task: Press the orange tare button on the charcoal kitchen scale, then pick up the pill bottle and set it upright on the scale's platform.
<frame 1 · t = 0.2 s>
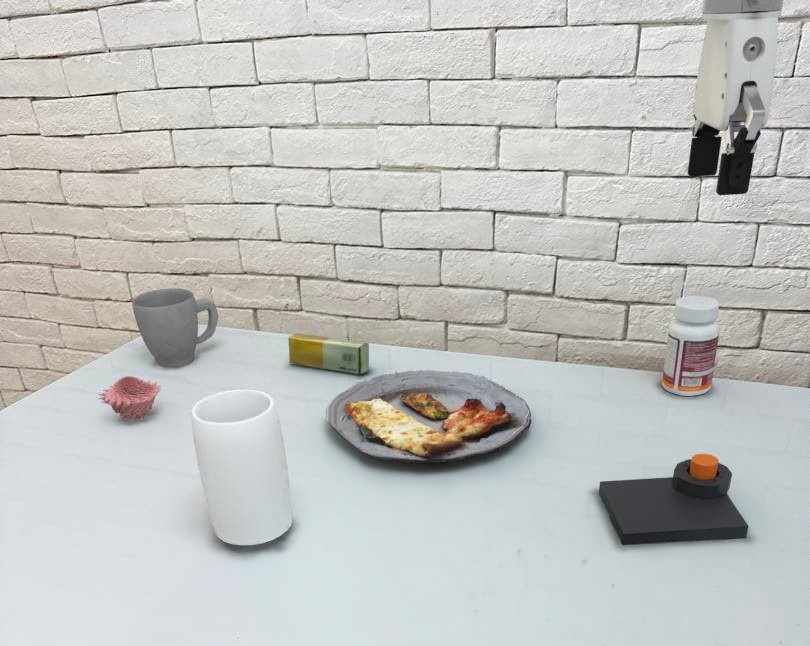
hand: (715, 184, 94), 26 cm above the table, tool pointing down, fingers open, 9 cm apart
mug: (186, 359, 129), on the table
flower: (136, 418, 112), on the table
pill bottle: (685, 389, 111), on the table
food plate: (428, 428, 105), on the table
scale: (668, 514, 86), on the table
medication box: (330, 369, 123), on the table
tare button: (703, 467, 87), point 4 cm above the table, slide at 0.1 cm
cup: (255, 535, 87), on the table
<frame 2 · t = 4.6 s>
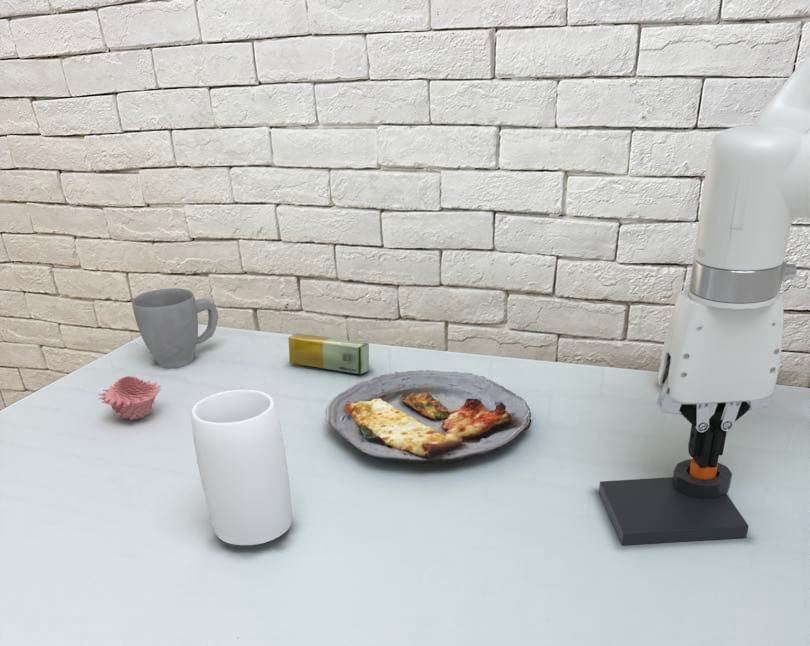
hand: (703, 461, 86), 4 cm above the table, tool pointing down, fingers closed
tare button: (703, 468, 87), point 3 cm above the table, slide at -0.1 cm, touching gripper
everything else where it was.
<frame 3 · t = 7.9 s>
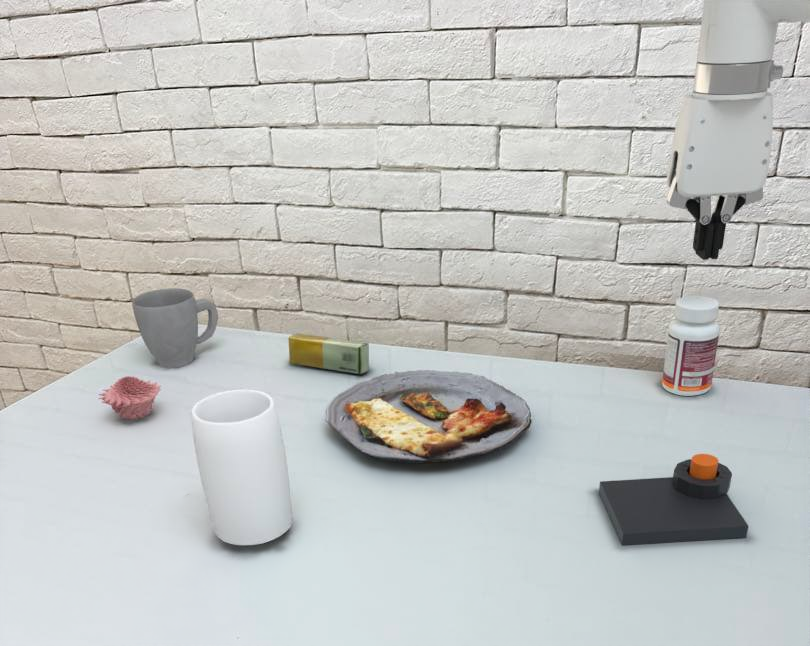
hand: (706, 256, 100), 17 cm above the table, tool pointing down, fingers closed
tare button: (703, 467, 87), point 3 cm above the table, slide at 0.1 cm
everything else where it was.
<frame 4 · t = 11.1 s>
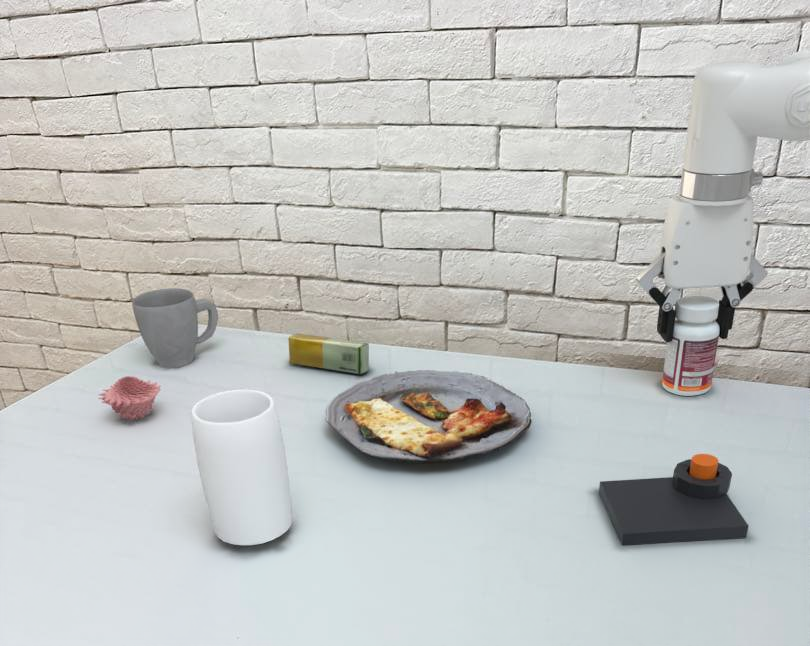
hand: (693, 335, 107), 7 cm above the table, tool pointing down, fingers closed on pill bottle, 6 cm apart
pill bottle: (685, 389, 111), on the table, touching gripper
everything else where it was.
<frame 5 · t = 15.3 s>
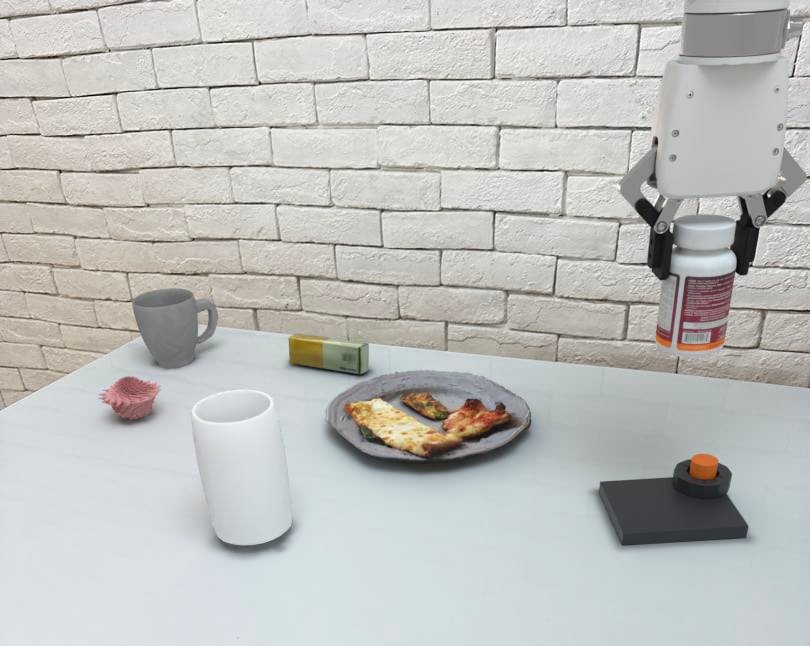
hand: (698, 271, 75), 24 cm above the table, tool pointing down, fingers closed on pill bottle, 6 cm apart
pill bottle: (687, 349, 80), point 16 cm above the table, touching gripper
everything else where it was.
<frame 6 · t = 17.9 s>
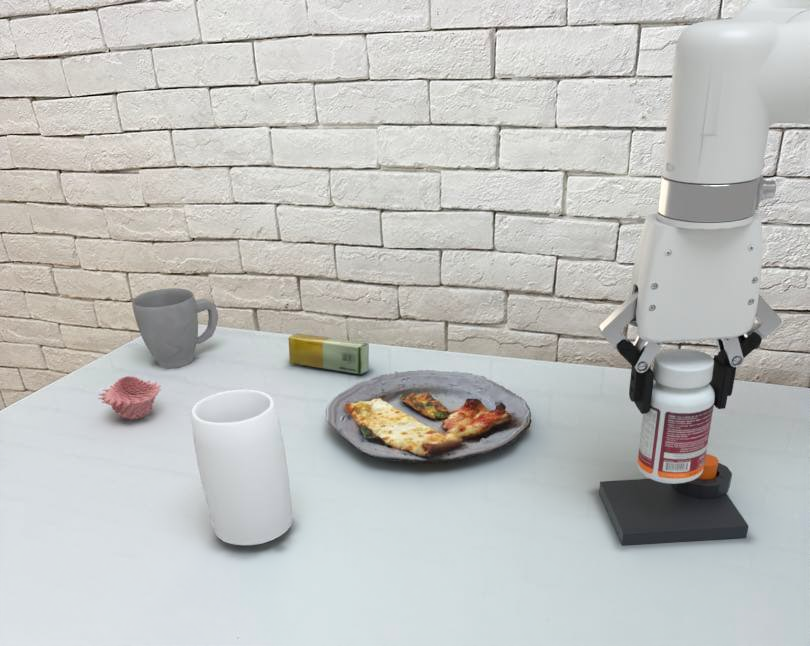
hand: (678, 403, 78), 13 cm above the table, tool pointing down, fingers closed on pill bottle, 6 cm apart
pill bottle: (669, 471, 82), point 5 cm above the table, touching gripper
everything else where it was.
when the fingers open (8 cm above the table, at t = 19.7 s): pill bottle stays where it is, resting on scale.
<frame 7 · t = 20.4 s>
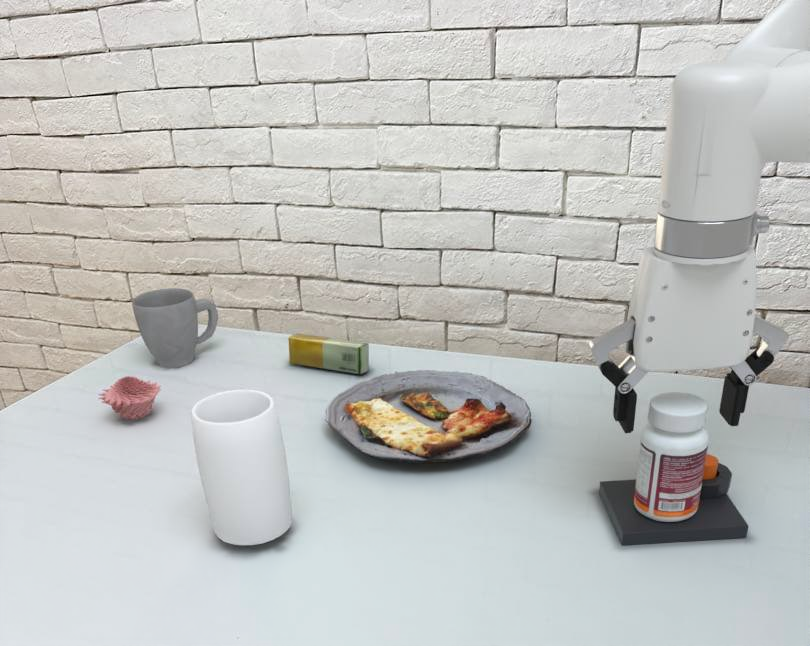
hand: (676, 423, 79), 11 cm above the table, tool pointing down, fingers open, 9 cm apart
pill bottle: (664, 509, 85), point 1 cm above the table, touching scale
everything else where it was.
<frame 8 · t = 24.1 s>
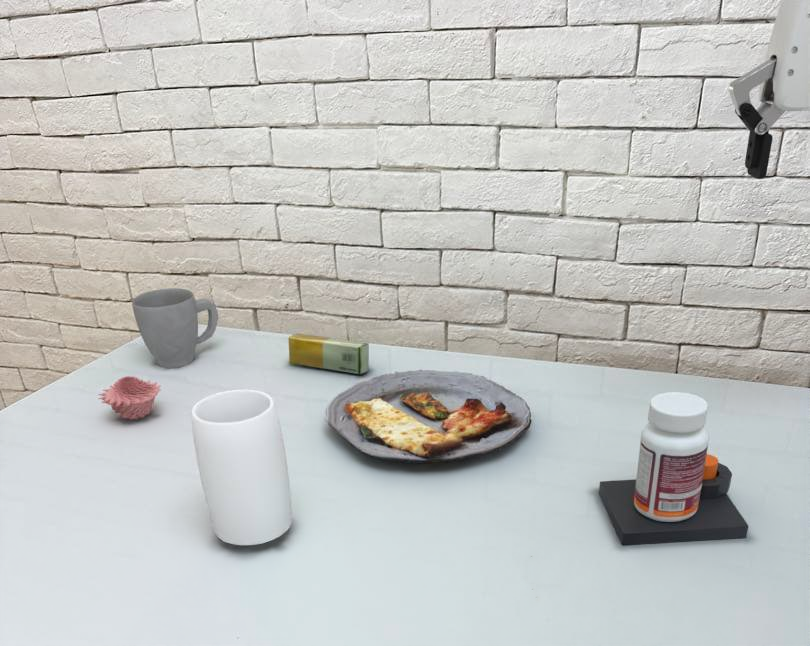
hand: (804, 173, 85), 28 cm above the table, tool pointing down, fingers open, 9 cm apart
nothing on the table moved.
at the end: tare button pushed in 0.9 cm at the most during the clip, back to where it started at the end; pill bottle inside the target area on the scale (0.4 cm from its centre), point 1.2 cm above the scale's base; pill bottle touching scale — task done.
